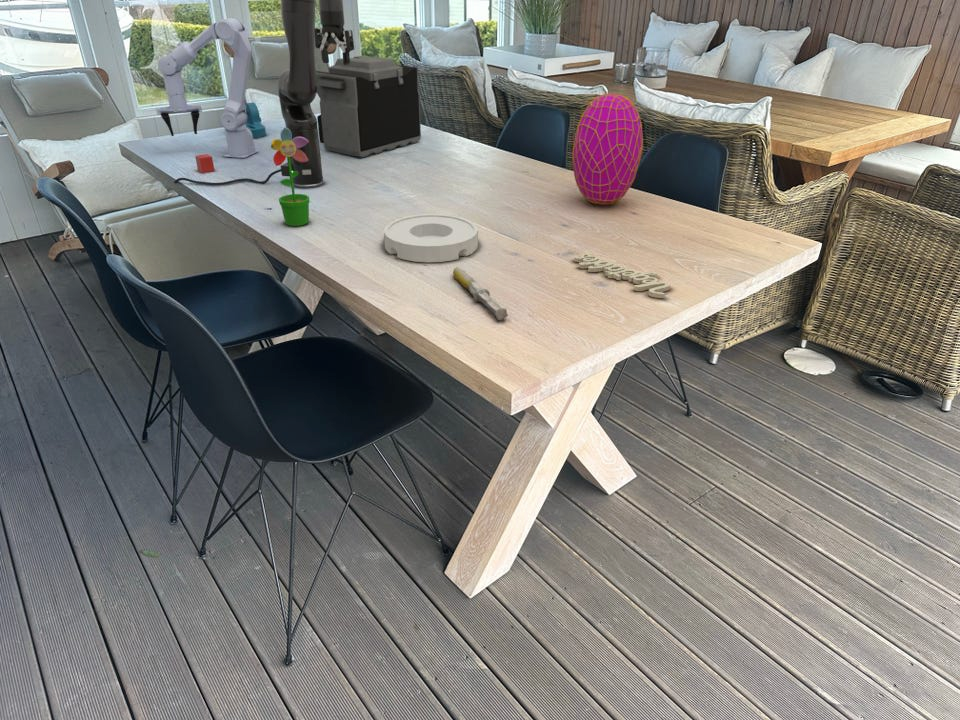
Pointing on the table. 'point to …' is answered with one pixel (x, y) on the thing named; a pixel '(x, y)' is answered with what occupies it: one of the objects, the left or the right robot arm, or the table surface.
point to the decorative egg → (607, 148)
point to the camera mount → (254, 121)
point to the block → (204, 163)
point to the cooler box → (368, 106)
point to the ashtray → (431, 237)
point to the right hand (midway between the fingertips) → (336, 63)
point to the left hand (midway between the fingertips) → (184, 134)
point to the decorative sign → (625, 274)
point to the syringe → (479, 293)
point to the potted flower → (291, 178)
